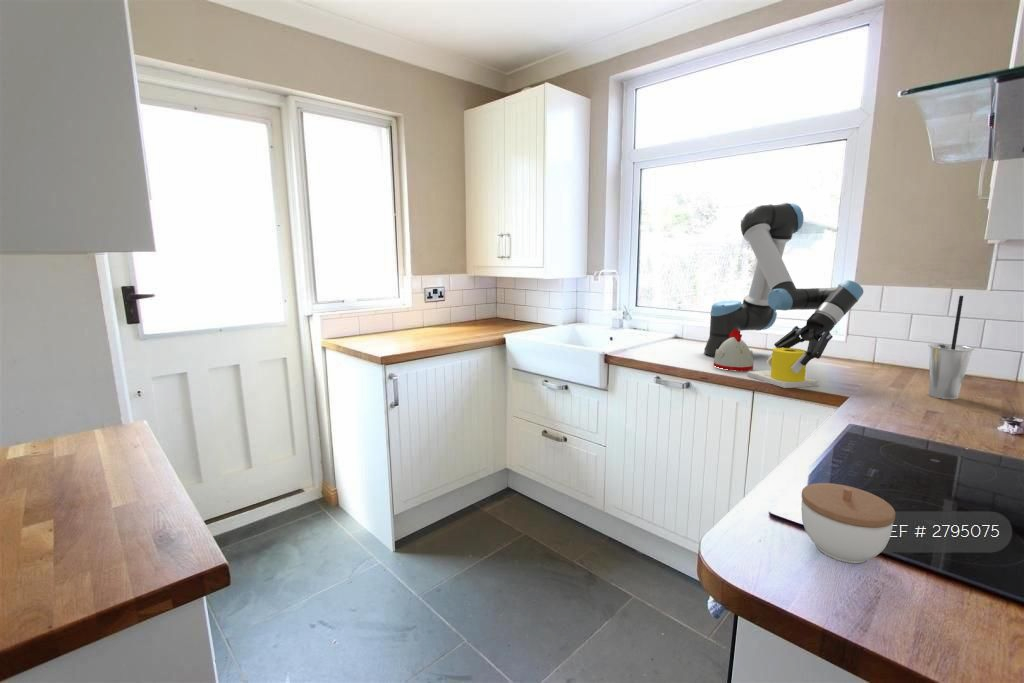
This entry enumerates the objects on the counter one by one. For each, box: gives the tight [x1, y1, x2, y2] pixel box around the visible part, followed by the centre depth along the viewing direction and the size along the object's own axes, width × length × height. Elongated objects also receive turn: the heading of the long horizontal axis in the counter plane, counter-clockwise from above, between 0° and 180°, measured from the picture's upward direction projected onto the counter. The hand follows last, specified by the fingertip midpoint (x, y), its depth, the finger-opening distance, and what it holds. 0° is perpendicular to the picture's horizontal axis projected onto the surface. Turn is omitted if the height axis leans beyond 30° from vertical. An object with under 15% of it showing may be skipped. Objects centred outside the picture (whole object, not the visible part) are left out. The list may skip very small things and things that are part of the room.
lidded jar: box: [801, 482, 896, 564], centre depth 66 cm, size 11×11×9 cm
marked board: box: [747, 369, 819, 389], centre depth 161 cm, size 17×13×2 cm
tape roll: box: [770, 347, 807, 382], centre depth 158 cm, size 10×10×9 cm
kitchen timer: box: [713, 329, 754, 372], centre depth 181 cm, size 14×14×15 cm
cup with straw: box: [927, 295, 975, 401], centre depth 139 cm, size 11×11×30 cm
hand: (780, 367), depth 157 cm, fingers closed on tape roll, 10 cm apart
